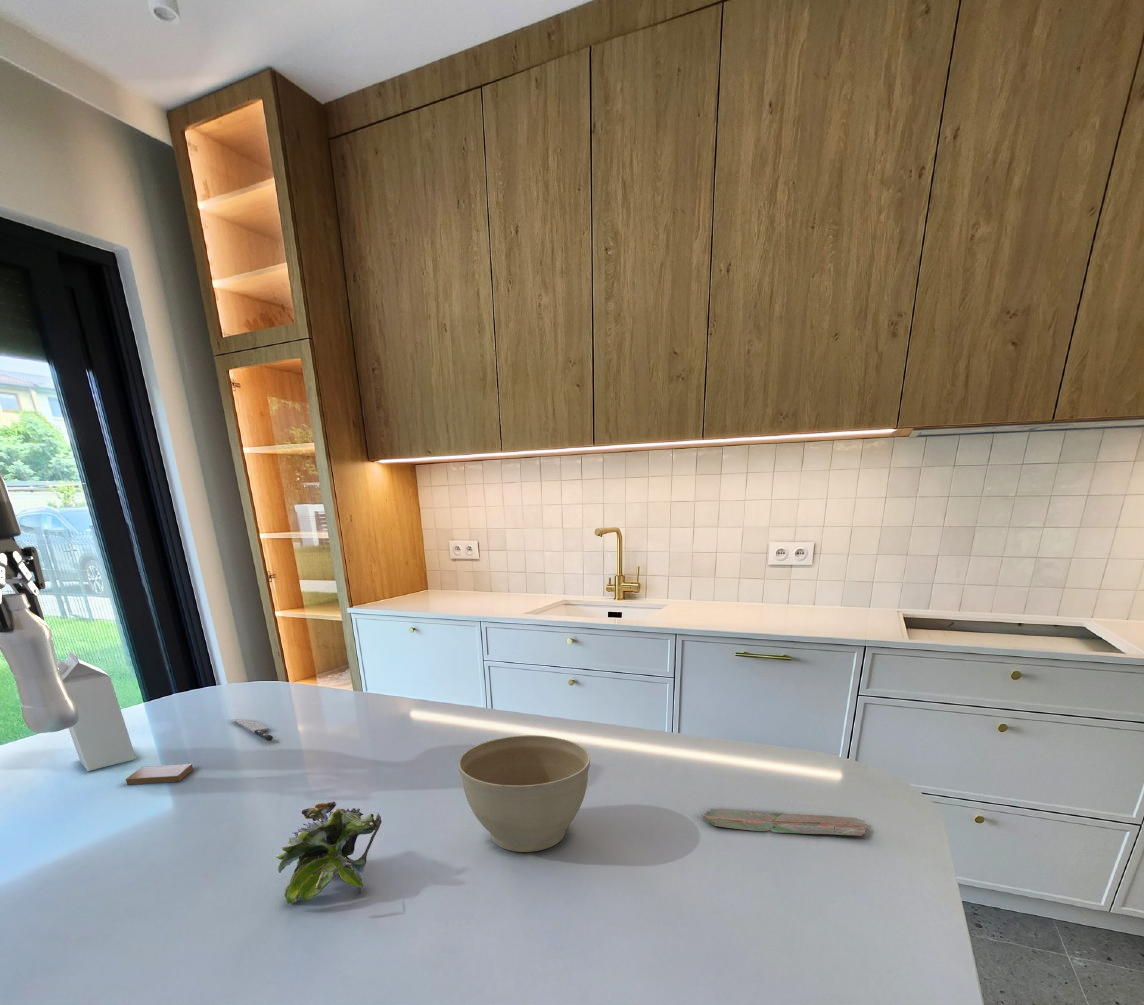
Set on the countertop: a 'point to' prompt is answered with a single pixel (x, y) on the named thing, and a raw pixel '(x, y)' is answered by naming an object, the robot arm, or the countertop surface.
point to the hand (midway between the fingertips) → (19, 626)
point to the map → (786, 822)
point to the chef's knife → (255, 728)
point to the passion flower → (326, 850)
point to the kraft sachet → (159, 774)
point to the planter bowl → (525, 788)
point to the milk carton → (95, 715)
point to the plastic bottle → (36, 669)
